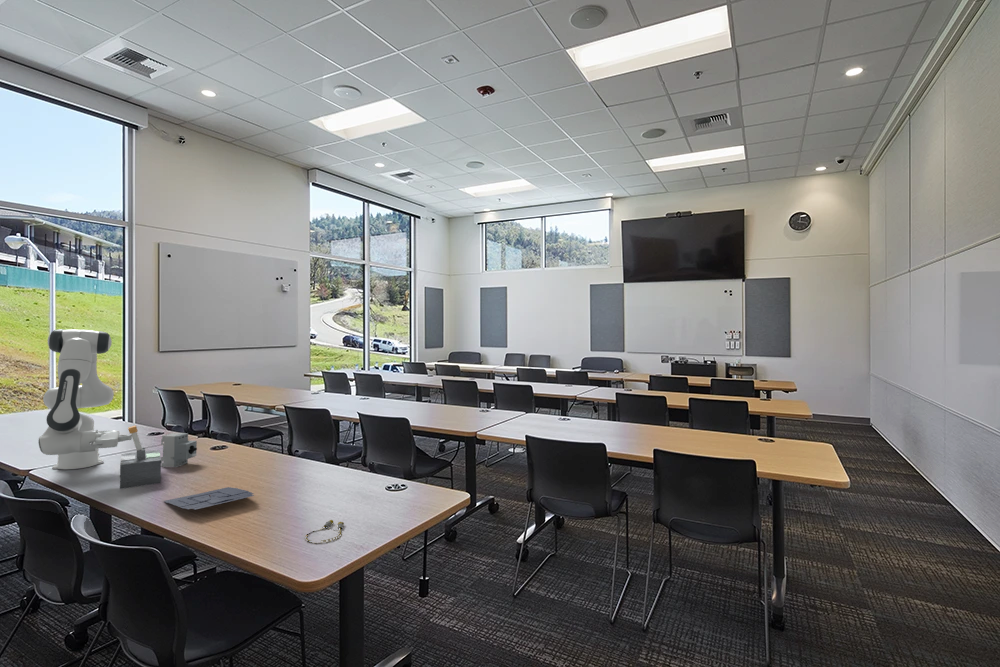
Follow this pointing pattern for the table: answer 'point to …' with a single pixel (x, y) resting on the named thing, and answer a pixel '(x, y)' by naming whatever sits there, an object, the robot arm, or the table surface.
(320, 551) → the table surface
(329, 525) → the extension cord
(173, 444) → the circuit breaker
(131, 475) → the box
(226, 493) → the dark blue panel
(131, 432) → the lever
